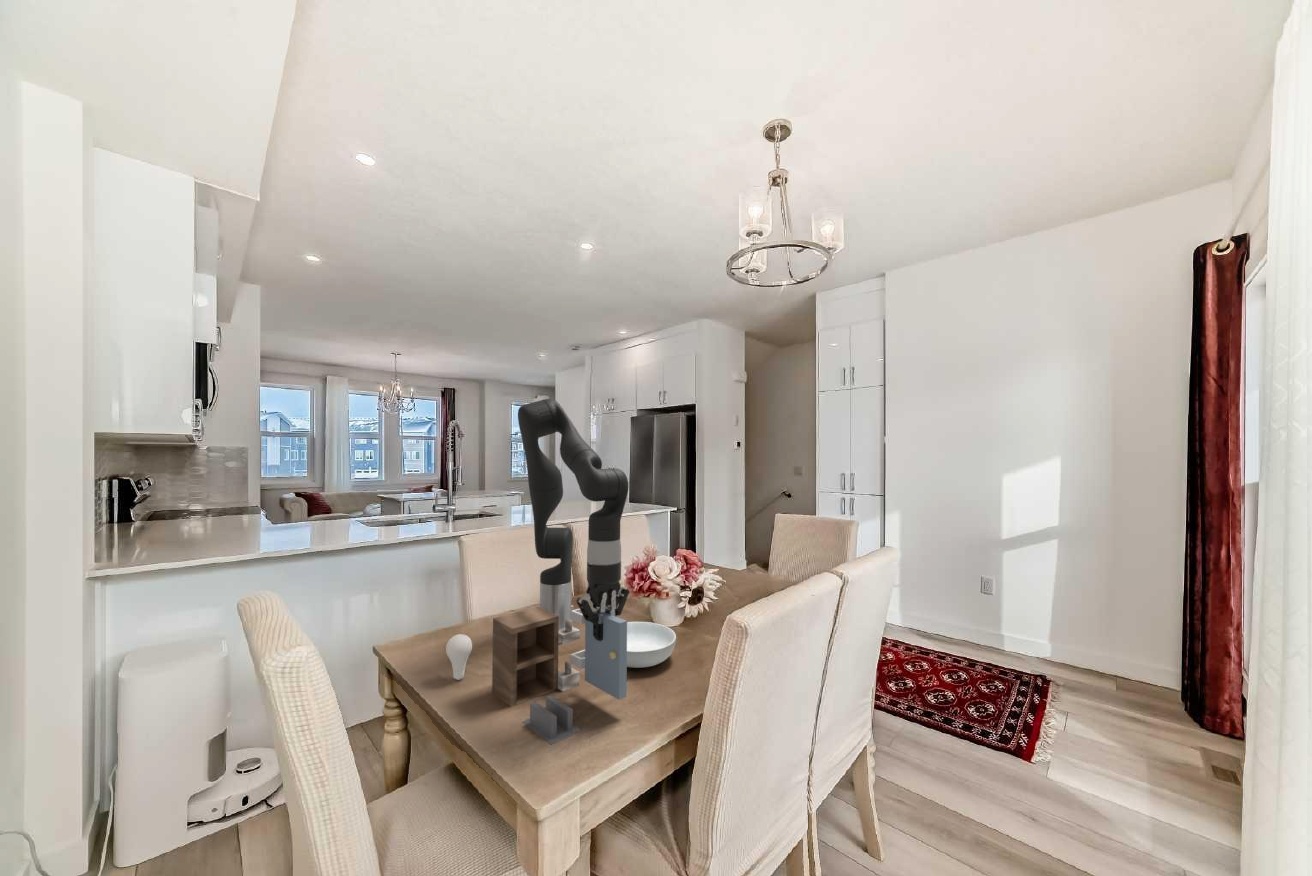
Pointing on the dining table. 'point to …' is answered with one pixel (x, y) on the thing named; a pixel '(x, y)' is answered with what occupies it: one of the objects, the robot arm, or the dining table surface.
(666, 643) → the serving bowl
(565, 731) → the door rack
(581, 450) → the robot arm
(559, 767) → the dining table surface
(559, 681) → the cabinet
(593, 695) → the dining table surface
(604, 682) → the cabinet door
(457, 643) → the lightbulb
